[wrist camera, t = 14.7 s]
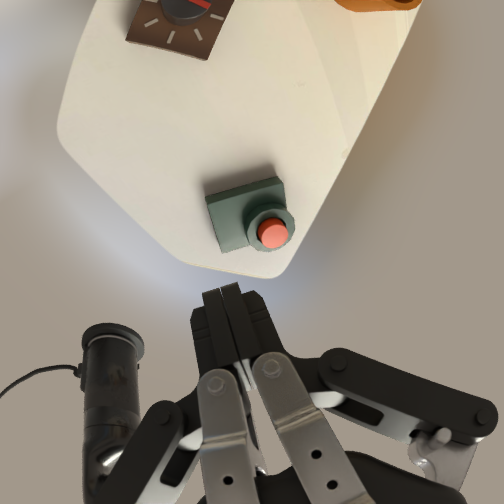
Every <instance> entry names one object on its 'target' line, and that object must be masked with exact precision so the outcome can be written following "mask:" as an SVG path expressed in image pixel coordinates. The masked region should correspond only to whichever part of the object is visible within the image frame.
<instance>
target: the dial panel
mask: <svg viewBox="0 0 504 504" xmlns="http://www.w3.org/2000/svg"><path fill="white" fill-rule="evenodd" d="M233 2H234V0H212V3H211V5H210V7H209V8H208V10H207V11H206V12H205V14H204V15H203V16H202V17H201V19H199V20H198V21H197V22H195V23H193V24H191V25H187V26H177V25H174V24H171V23H170V22H168V21H167V20H166V19H165V17H164V15H163V12H162V2H161V0H142V1H141V4H140V6H139V8H138V10H137V13H136V15H135V17H134V20H133V22H132V24H131V27H130V29H129V32H128V34H127V37H126V39H125V40H126V41H127V42H129V43H135V44H140V45H144V46H149V47H154V48H158V49H162V50H166V51H170V52H174V53H178V54H182V55H185V56H189V57H193V58H196V59H199V60H203V61H205V60H208V57H209V55H210V52H211V50H212V48H213V45H214V43H215V41H216V39H217V36H218V34H219V32H220V30H221V27H222V25H223V23H224V21H225V19H226V17H227V15H228V13H229V10H230V8H231V6H232V4H233Z"/></svg>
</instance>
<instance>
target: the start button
mask: <svg viewBox="0 0 504 504" xmlns="http://www.w3.org/2000/svg"><path fill="white" fill-rule="evenodd" d="M258 236H259V238H260V240H261V242H262V244H263V245H264V246H265V247H267V248H277V247H279V246H281V245H282V244H284V243H285V241H286V240H287V237H288V231H287V229H286V227H285V226H284V224H283V223H282V221H281V220H279V219H277V218H269V219H266V220H265V221H263V222H262V223H261V224H260V226H259V228H258Z"/></svg>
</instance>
